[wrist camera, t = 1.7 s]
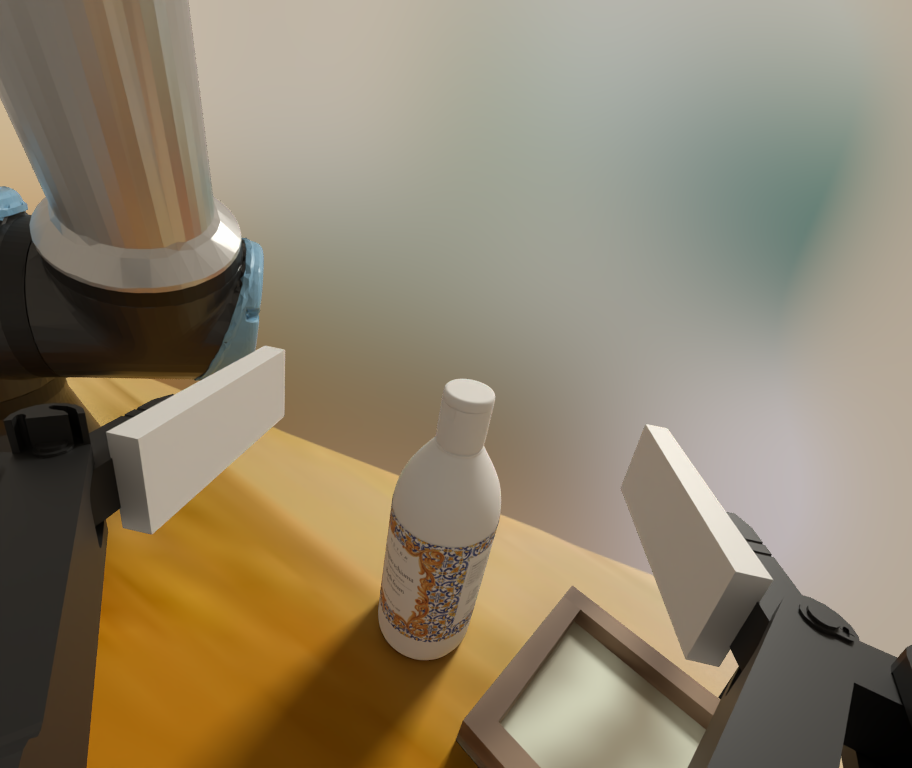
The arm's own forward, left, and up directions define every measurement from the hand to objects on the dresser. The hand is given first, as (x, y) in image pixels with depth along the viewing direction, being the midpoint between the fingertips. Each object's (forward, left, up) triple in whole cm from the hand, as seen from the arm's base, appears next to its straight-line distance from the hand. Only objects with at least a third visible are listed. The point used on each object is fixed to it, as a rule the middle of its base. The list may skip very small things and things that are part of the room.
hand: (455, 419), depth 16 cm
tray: (+10, +10, -23) cm, 27 cm away
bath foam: (-4, +7, -23) cm, 24 cm away
